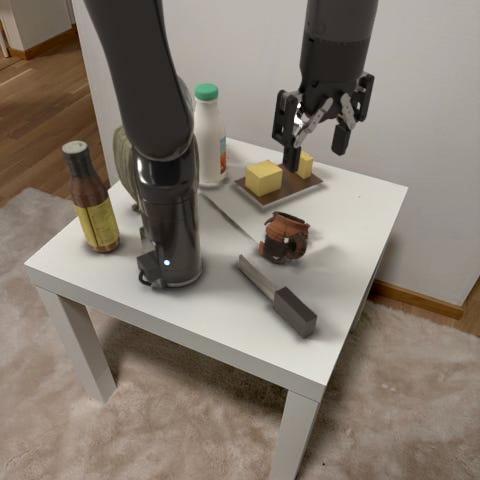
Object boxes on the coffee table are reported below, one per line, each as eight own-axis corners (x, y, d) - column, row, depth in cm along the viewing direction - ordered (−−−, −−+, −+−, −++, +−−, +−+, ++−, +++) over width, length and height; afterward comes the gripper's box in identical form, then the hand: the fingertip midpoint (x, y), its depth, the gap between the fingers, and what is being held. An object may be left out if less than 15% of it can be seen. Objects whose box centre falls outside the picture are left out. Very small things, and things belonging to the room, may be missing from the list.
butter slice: (304, 179, 99) (306, 160, 95) (289, 169, 101) (292, 150, 98) (310, 176, 100) (313, 158, 96) (296, 166, 102) (299, 148, 99)
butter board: (262, 211, 93) (263, 205, 92) (233, 186, 99) (233, 180, 98) (322, 187, 100) (324, 181, 99) (292, 165, 105) (292, 159, 104)
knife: (302, 338, 71) (306, 322, 68) (234, 269, 82) (234, 252, 78) (313, 332, 72) (317, 316, 69) (244, 264, 82) (245, 247, 79)
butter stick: (258, 197, 94) (260, 178, 91) (245, 185, 97) (245, 167, 93) (280, 188, 96) (282, 169, 93) (266, 177, 99) (268, 159, 95)
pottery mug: (246, 246, 87) (260, 205, 83) (283, 253, 92) (298, 215, 89) (278, 271, 78) (295, 226, 75) (317, 277, 83) (335, 236, 80)
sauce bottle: (125, 234, 87) (103, 137, 72) (116, 255, 83) (91, 157, 68) (92, 231, 87) (64, 135, 72) (82, 252, 83) (50, 154, 68)
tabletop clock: (185, 189, 98) (176, 67, 78) (206, 211, 93) (201, 86, 74) (124, 209, 92) (98, 83, 73) (142, 233, 87) (119, 105, 68)
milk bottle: (213, 192, 97) (211, 99, 82) (185, 181, 100) (178, 89, 84) (232, 176, 101) (233, 85, 86) (204, 166, 104) (201, 75, 89)
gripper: (360, 8, 54) (334, 137, 66) (266, 26, 48) (257, 163, 61) (407, 27, 50) (370, 159, 62) (311, 49, 44) (291, 189, 57)
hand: (314, 161), depth 61 cm, fingers open, 8 cm apart
